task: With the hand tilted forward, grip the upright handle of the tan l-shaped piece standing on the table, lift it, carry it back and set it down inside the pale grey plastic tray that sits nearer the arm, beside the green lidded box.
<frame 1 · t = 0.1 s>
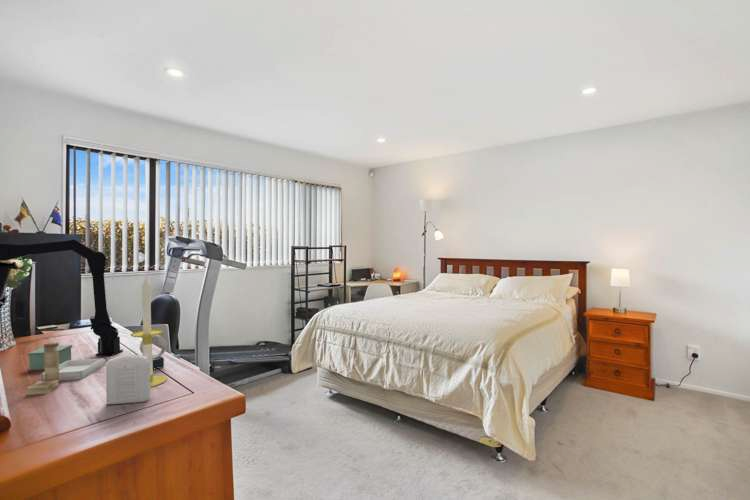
green lidded box: (51, 365, 130), on the table
tray: (74, 373, 122), on the table
tan l-shaped piece: (52, 385, 111), on the table
gravestone: (129, 401, 100), on the table
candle: (148, 383, 113), on the table
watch: (154, 367, 128), on the table
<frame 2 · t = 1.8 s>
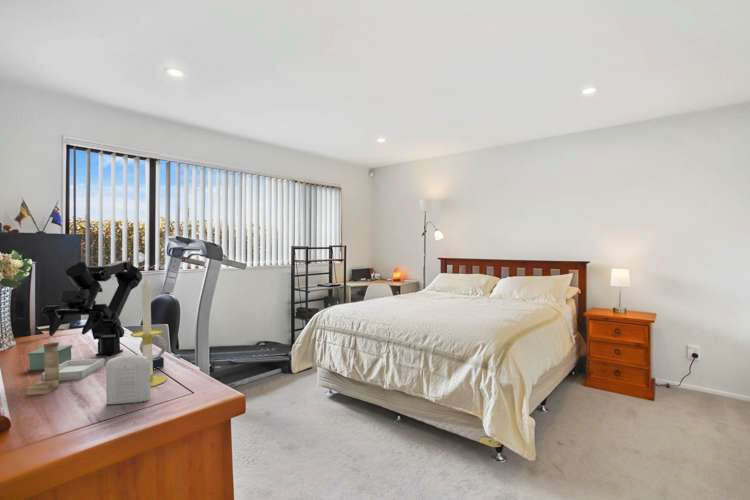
hand: (66, 334, 119), 13 cm above the table, tool tilted 45°, fingers open, 9 cm apart
nothing on the table moved.
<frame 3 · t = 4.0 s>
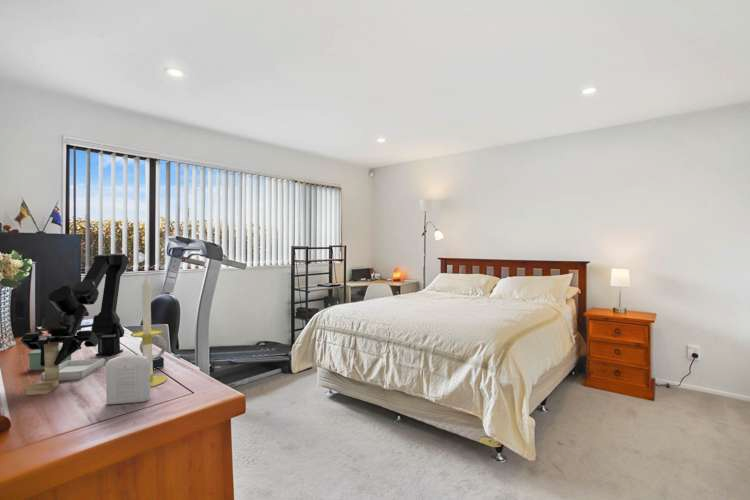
hand: (48, 365, 110), 7 cm above the table, tool tilted 45°, fingers closed on tan l-shaped piece, 3 cm apart
tan l-shaped piece: (52, 385, 111), on the table, touching gripper
everything else where it was.
when the fingers open (8 cm above the table, at t = 7.3 s): tan l-shaped piece stays where it is, resting on tray.
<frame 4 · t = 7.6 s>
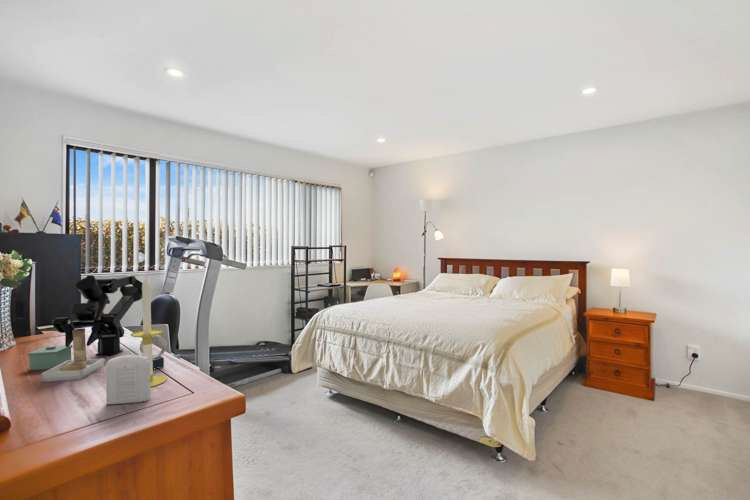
hand: (77, 345, 123), 9 cm above the table, tool tilted 45°, fingers open, 6 cm apart
tan l-shaped piece: (80, 366, 125), point 1 cm above the table, touching tray
everything else where it was.
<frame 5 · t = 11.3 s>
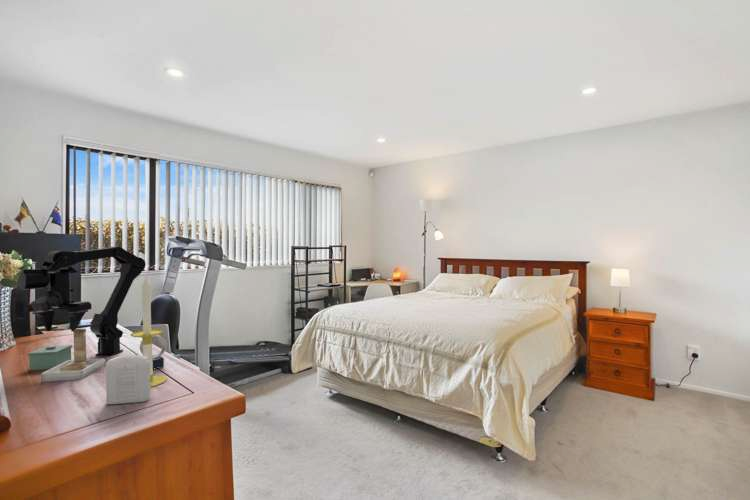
hand: (60, 331, 130), 12 cm above the table, tool pointing down, fingers open, 9 cm apart
nothing on the table moved.
at the end: tan l-shaped piece inside the target area on the tray (3.2 cm from its centre), point 1.0 cm above the tray's base; tan l-shaped piece tilted 0°; the gripper is holding nothing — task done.
